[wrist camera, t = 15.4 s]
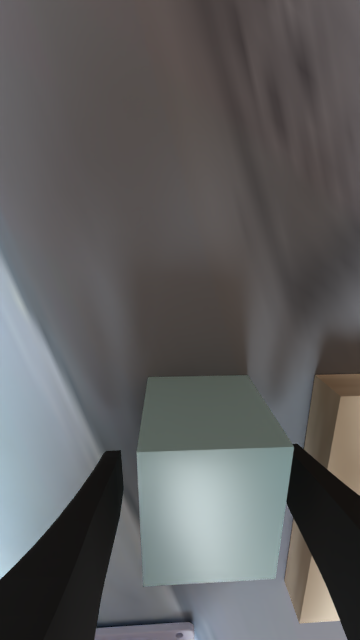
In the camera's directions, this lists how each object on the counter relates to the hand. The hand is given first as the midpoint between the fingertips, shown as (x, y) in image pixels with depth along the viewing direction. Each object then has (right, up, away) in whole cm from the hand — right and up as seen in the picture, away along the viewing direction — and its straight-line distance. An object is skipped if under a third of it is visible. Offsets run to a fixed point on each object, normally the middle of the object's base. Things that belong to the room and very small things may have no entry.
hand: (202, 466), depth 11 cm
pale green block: (0, +1, +2) cm, 3 cm away
